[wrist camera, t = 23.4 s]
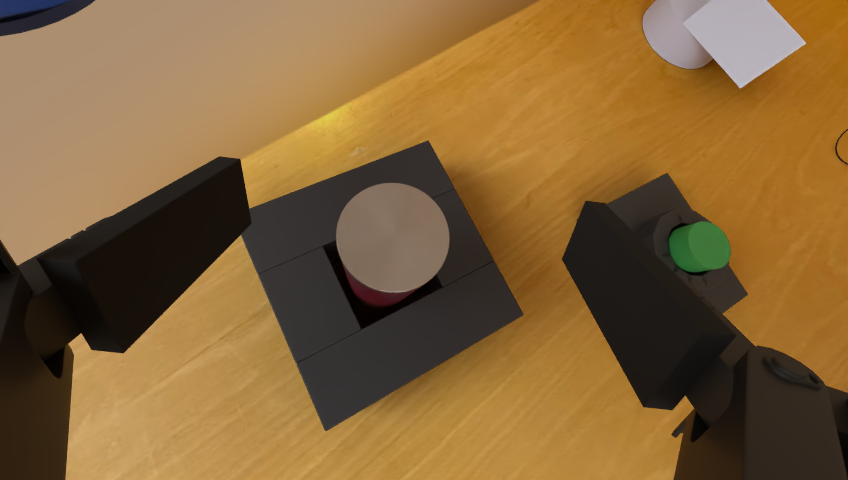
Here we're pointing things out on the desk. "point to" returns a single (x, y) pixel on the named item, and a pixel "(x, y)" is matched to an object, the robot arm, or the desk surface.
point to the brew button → (699, 247)
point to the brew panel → (654, 222)
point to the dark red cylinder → (391, 242)
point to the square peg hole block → (328, 303)
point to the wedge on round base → (720, 35)
